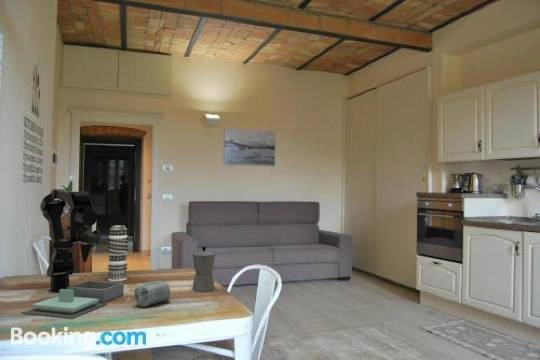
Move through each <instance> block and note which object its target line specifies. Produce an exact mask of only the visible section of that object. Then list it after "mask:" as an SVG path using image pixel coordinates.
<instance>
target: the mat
mask: <svg viewBox="0 0 540 360" xmlns="http://www.w3.org/2000/svg"><path fill="white" fill-rule="evenodd" d="M107 305H108V304H107V303H104V304H102V303H94V304H92V306H91V307H88V308H86V309H83V310H80V311H78V312H75V313H73V314H72V313H62V312H53V311H43V310H39V308H31V309H28V310H25V311H22V312H21V314H23V315H30V316H31V315H32V316H33V315H34V316H41V317H52V318H60V319H71V320H73V319H77V318H78V317H80V316H83V315H86V314H88V313H90V312H93V311H95V310H97V309H100V308H102V307H105V306H107Z"/></svg>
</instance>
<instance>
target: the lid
mask: <svg viewBox="0 0 540 360" xmlns="http://www.w3.org/2000/svg"><path fill="white" fill-rule="evenodd" d="M58 293H59V294H58V295H57V296H53V297H51V298H48V299H44V300H42V301H38V302H35V303H32V304H31V308H32V309H34V308H39V310H43V311H53V312H62V313H72V314H73V313H75V312H78V311H80V310H83V309H86V308H88V307H91V306H92V304H94V303H97V302H99V299H94V298H83V297H74V290H67V289H60V290H59V292H58Z"/></svg>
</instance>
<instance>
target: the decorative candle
mask: <svg viewBox="0 0 540 360" xmlns="http://www.w3.org/2000/svg"><path fill="white" fill-rule="evenodd" d="M127 233H128V228H127V227H126V226H125V225H123V224H121V225H120V224H115V225H111V227H110V228H109V236H108V237H107V240H108V241H107V248H108V249H107V252H108V253H107V255H108V265H107V270H108V271H107V282H121V281H125V280H126V281H127V279H128V270H127V269H128V267H127V266H128V263H127V261H128V259H127V255H128V252H127V251H129V248H128V247H129V245H127V244H128V243H129V241H128V240H130V238H129V237H128V234H127Z"/></svg>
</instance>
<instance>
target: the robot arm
mask: <svg viewBox="0 0 540 360" xmlns="http://www.w3.org/2000/svg"><path fill="white" fill-rule="evenodd" d="M39 205H40V208H39V209H40V211H41V212H42V213H41V214H42V216H43V218H45V220H47V222H48V227H49V233H50V240H51V245H52V253H53V254H52V256H51V258H50V261H49V265H48V267H47V269H46V276H47V277H49V278H50V289H47V292H50V293H59V290H60V289H67V287H69V286H70V276H72V275H73V274H74V270H75V261H74V258H73V253H72V251H73V250H74V248H73V246H74V245H79V247H80V252H81V258H82V263H86V262H87V260H88V258H89V255H90V252H91V251H92V249H93V248H94V247H96V246H97V244H99V242H100V240H101V231H100V230H99V229H96V230H91V231H90V230H89V227H92V226H94V225H95V224H96V223H97V221H98V215H97V213H96V212H95V211H93V210H94V204H93V201H92V199H91V196H90V194H89V192H87V191H70V190H66V189H64V188H59V189H58V188H54V189H52V190H51V191H50V193H49V194H47V195H45V196H44V197H43V198H42V201H41V203H40V204H39ZM66 205H68V207H69V209H68V210H67V211H68V212H69V223H68V224H69V225H68V226H66V229H67V230H68V236H67V237H65V236H64V235H65V234H64V231H63V230H64V229H63V223H62V218H61V217H62V216H63V213H64V212H65V211H64V210H65V207H66Z"/></svg>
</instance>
